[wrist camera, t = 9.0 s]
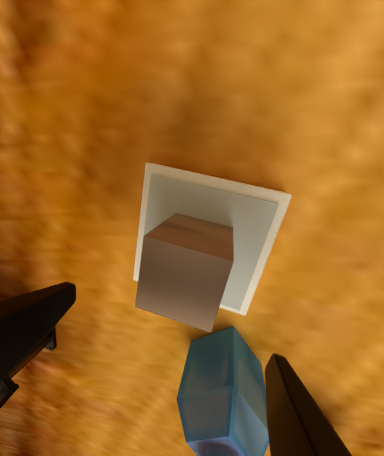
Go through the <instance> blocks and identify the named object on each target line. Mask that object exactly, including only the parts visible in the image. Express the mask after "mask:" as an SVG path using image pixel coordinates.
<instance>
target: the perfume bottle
mask: <svg viewBox="0 0 384 456" xmlns="http://www.w3.org/2000/svg"><path fill="white" fill-rule="evenodd" d="M177 403H178V408H179V412H180V417H181V421H182V426H183V430H184V435H185V439H186V443H187V444H188V445H189V446H190V447H191V449H192V450H193V451H194V452H195V453H196V454H197V456H264V454H265V452H266V449H267V447H268V444H269V436H268V427H267V412H266V392H265V385H264V378H263V372H262V365H261V363H260V362H259V361H258V359H257V358H256V357H255V355H254V354H253V352H252V351H251V350H250V348H249V347H248V345H247V344H246V343H245V341H244V340H243V338H242V337H241V336H240V334H239V333H238V331H237V330H236V329H235V327H234V326H232V327H230V328H227V329H224V330H221V331H219V332H216V333H213V334H210V335H208V336H205V337H202V338H200V339H197V340H194V341H191V343H190V347H189V351H188V355H187V359H186V363H185V367H184V371H183V375H182V379H181V383H180V387H179V392H178V396H177Z"/></svg>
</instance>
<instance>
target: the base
mask: <svg viewBox="0 0 384 456" xmlns="http://www.w3.org/2000/svg"><path fill="white" fill-rule="evenodd" d="M291 197H292V195H291V194H289V193H286V192H282V191H278V190H273V189H269V188H264V187H260V186H255V185H250V184H246V183H241V182H237V181H232V180H228V179H223V178H219V177H214V176H210V175H205V174H201V173H196V172H191V171H187V170H182V169H178V168H173V167H169V166H164V165H160V164H155V163H146V165H145V174H144V184H143V193H142V202H141V211H140V221H139V230H138V239H137V249H136V258H135V267H134V277H133V280H135V281H138V278H139V270H140V262H141V253H142V245H143V236H144V235H146V234H147V233H148V232H150V231H151V230H153V229H154V228H155V227H157V226H158V225H159V224H161V223H162V222H164V221H165V220H166V219H168V218H169V217H171V216H172V215H173V214H175V213H179V214H182V215H186V216H190V217H194V218H198V219H202V220H206V221H210V222H214V223H218V224H221V225H225V226H229V227H233V242H234V262H233V265H232V268H231V272H230V275H229V278H228V281H227V284H226V287H225V290H224V294H223V297H222V300H221V303H220V306H219V307H220V308H223V309H226V310H229V311H232V312H235V313H238V314H241V315H246V313H247V310H248V308H249V305H250V303H251V300H252V297H253V295H254V292H255V290H256V287H257V285H258V282H259V279H260V277H261V274H262V272H263V269H264V266H265V264H266V261H267V259H268V256H269V254H270V251H271V248H272V246H273V243H274V241H275V238H276V236H277V233H278V230H279V228H280V225H281V223H282V220H283V217H284V215H285V212H286V210H287V207H288V205H289V202H290V199H291Z"/></svg>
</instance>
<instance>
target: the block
mask: <svg viewBox="0 0 384 456" xmlns="http://www.w3.org/2000/svg"><path fill="white" fill-rule="evenodd" d="M233 262H234V242H233V227H229V226H225V225H221V224H218V223H214V222H210V221H206V220H202V219H198V218H194V217H190V216H186V215H182V214H179V213H175V214H173V215H172V216H171V217H169V218H168V219H166V220H165V221H164V222H162V223H161V224H159V225H158V226H157V227H155V228H154V229H153V230H151V231H150V232H148V233H147V234H146V235H144V236H143V245H142V253H141V262H140V270H139V278H138V287H137V295H136V303H135V307H137V308H140V309H143V310H146V311H149V312H152V313H154V314H157V315H160V316H163V317H166V318H169V319H172V320H175V321H178V322H181V323H184V324H186V325H189V326H192V327H195V328H198V329H201V330H204V331H207V332H210V333H211V331H212V328H213V325H214V322H215V319H216V316H217V312H218V309H219V306H220V303H221V300H222V297H223V294H224V290H225V287H226V284H227V281H228V278H229V275H230V272H231V268H232V265H233Z"/></svg>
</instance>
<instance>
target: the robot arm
mask: <svg viewBox="0 0 384 456" xmlns="http://www.w3.org/2000/svg"><path fill="white" fill-rule="evenodd" d="M75 300H76V286H75V284H73V283H70V282H64V283H60V284H57V285H53V286H50V287H47V288H43V289H40V290H36V291H33V292H30V293H26V294H23V295H19V296H16V297H13V298H9V299H6V300H2V301H0V408H1V407H2V406H3V405H4V404H5V403H6V401H7V400H8V399H9V398H10V397H11V396H12V395H13V393H14V392H15V391H16V390H17V389H18V388H19V385H18V384H15V383H14V382H13V381H12V380H11V378H12V377H13V376H14V375H16V374H17V373H18V372H19V371H20V370H21V369H22V368H23V367H24V366H25V365H26V364H27V363H28V362H29V361H31V360H32V359H33V358H34V357H35V356H36V355H37V354H38V353H39V352H40V351H41V350H42V349H43V348H46V349H49V350H51V351H53V350H54V349H55V348H56V342H55V329H54V326H55V325H56V324H57V323H58V322H59V320H60V319H61V318H62V317H63V316H64V315H65V313H66V312H67V311H68V310H69V309H70V307H71V306H72V305H73V304H74V302H75ZM265 383H266V412H267V427H268V436H269V444H270V452H271V456H352V455H351V454H350V452H349V451H348V449H347V448H346V446H345V445H344V443H343V442H342V440H341V439H340V437H339V436H338V434H337V433H336V431H335V430H334V429H333V427H332V426H331V424H330V423H329V421H328V420H327V418H326V417H325V415H324V414H323V412H322V411H321V409H320V408H319V406H318V405H317V404H316V402H315V401H314V399H313V398H312V396H311V395H310V393H309V392H308V390H307V389H306V387H305V386H304V384H303V383H302V381H301V380H300V379H299V377H298V376H297V374H296V373H295V371H294V370H293V368H292V367H291V365H290V364H289V362H288V361H287V359H286V358H285V357H284V356H281V355H278V354H275V353H274V354H272V356H271V358H270V360H269V362H268V364H267V366H266V369H265Z"/></svg>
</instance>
